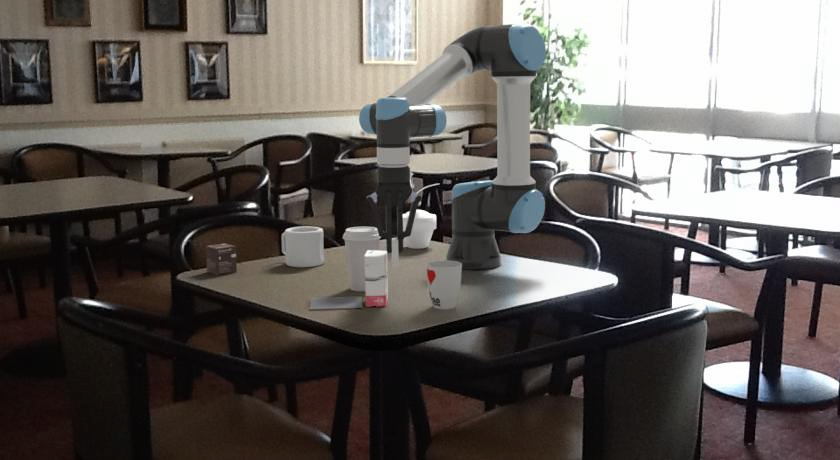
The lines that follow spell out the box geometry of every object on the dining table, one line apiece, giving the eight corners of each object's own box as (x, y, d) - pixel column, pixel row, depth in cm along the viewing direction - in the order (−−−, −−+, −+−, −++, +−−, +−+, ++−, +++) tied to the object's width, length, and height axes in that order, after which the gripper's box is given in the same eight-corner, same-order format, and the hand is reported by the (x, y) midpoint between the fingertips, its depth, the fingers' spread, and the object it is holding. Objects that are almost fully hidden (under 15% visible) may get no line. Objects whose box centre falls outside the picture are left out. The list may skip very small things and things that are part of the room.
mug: (331, 262, 274) (330, 227, 272) (307, 269, 265) (306, 233, 263) (294, 258, 281) (293, 224, 279) (270, 264, 272) (268, 229, 270)
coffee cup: (353, 294, 234) (351, 233, 232) (338, 287, 242) (336, 228, 240) (388, 290, 238) (387, 230, 236) (372, 282, 247) (371, 224, 244)
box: (217, 275, 258) (216, 248, 257) (206, 272, 263) (205, 245, 261) (237, 272, 262) (236, 245, 261) (226, 269, 267) (224, 243, 265)
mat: (361, 297, 231) (361, 296, 231) (362, 308, 220) (362, 307, 220) (311, 298, 230) (311, 297, 230) (309, 310, 219) (309, 309, 219)
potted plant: (395, 250, 290) (394, 167, 286) (402, 243, 302) (401, 163, 297) (437, 251, 288) (436, 167, 284) (442, 244, 299) (441, 163, 295)
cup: (425, 303, 225) (424, 260, 223) (459, 301, 225) (459, 259, 224) (428, 311, 217) (427, 268, 215) (464, 310, 217) (464, 266, 216)
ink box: (386, 307, 222) (385, 256, 220) (364, 307, 222) (363, 256, 220) (388, 298, 230) (387, 249, 228) (368, 298, 230) (367, 249, 228)
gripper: (420, 163, 225) (421, 262, 229) (364, 164, 224) (366, 264, 228) (423, 166, 218) (424, 269, 221) (365, 167, 217) (367, 270, 220)
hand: (395, 266), depth 225 cm, fingers closed
